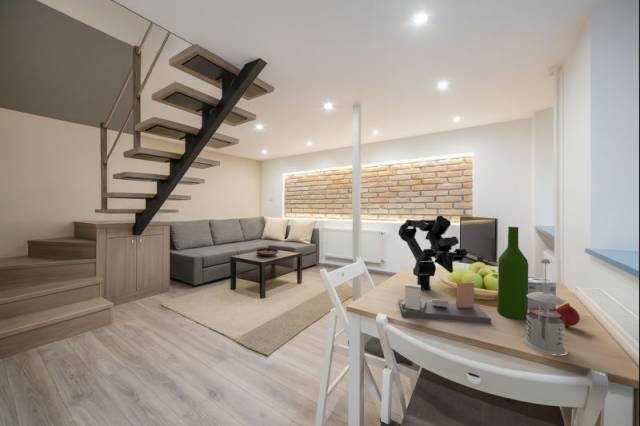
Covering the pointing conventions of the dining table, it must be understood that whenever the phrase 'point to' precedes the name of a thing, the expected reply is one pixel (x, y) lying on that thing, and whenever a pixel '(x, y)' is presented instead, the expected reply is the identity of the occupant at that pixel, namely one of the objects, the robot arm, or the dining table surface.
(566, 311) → the onion
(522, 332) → the dining table surface
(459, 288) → the tan rectangular board
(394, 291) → the dining table surface
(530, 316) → the french press
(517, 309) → the wine bottle
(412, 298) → the slider button
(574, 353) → the dining table surface
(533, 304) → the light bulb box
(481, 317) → the control console
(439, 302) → the rocker switch
